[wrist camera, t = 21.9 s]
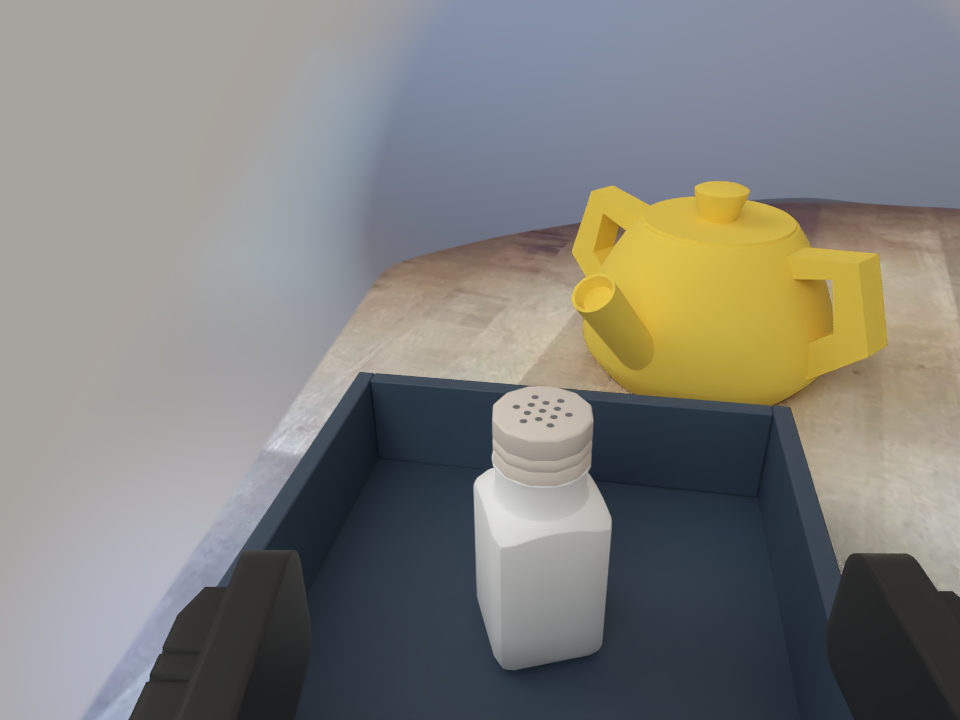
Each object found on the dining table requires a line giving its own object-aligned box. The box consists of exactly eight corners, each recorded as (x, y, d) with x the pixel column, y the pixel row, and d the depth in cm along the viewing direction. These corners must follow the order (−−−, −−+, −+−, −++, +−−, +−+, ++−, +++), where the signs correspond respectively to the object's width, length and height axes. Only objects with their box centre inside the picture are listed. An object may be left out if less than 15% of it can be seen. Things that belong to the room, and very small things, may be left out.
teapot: (455, 367, 47) (447, 191, 41) (638, 284, 57) (651, 136, 52) (747, 526, 34) (792, 299, 28) (915, 380, 44) (970, 195, 39)
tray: (154, 856, 22) (109, 745, 19) (368, 457, 39) (359, 371, 36) (882, 1008, 18) (939, 897, 16) (771, 499, 35) (790, 406, 33)
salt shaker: (474, 596, 30) (466, 386, 25) (571, 578, 30) (582, 372, 26) (497, 681, 26) (494, 456, 22) (607, 659, 27) (627, 437, 22)
